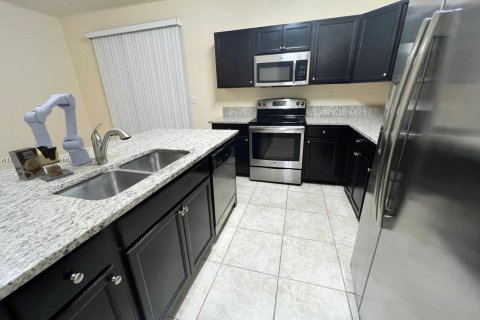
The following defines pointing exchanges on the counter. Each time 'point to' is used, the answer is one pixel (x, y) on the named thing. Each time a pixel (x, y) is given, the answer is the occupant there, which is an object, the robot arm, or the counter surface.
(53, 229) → the counter surface
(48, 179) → the slate gray tray
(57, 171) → the letter cube
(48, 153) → the robot arm
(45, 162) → the tan lumpy round piece
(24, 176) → the coffee box
